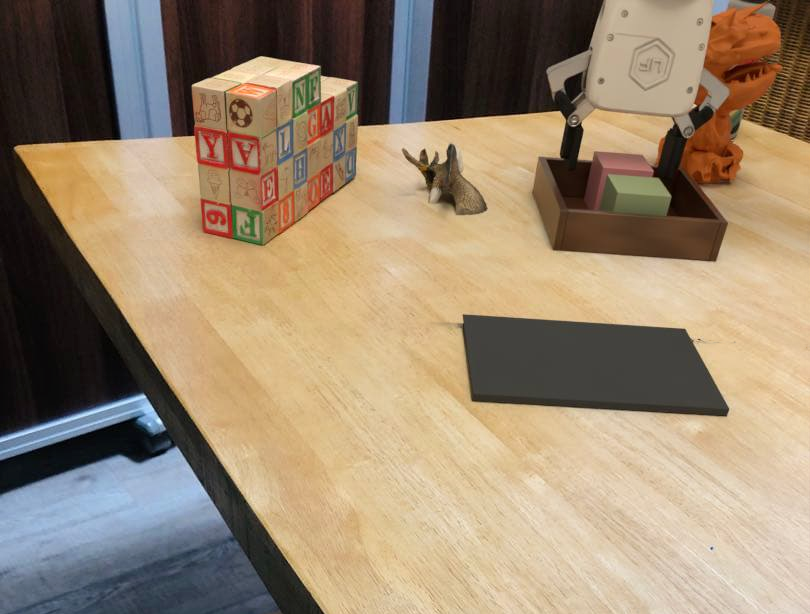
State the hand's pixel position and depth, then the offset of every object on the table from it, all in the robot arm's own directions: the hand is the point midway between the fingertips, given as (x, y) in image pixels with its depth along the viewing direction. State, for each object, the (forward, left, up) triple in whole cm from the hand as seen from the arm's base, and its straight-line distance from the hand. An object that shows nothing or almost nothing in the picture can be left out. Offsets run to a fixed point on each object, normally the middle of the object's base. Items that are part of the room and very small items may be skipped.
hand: (616, 171), depth 86 cm
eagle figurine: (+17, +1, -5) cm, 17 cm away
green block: (0, +7, -4) cm, 8 cm away
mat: (+8, +32, -5) cm, 33 cm away
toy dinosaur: (-13, -14, -5) cm, 20 cm away
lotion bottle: (-21, -34, -5) cm, 41 cm away
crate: (0, +4, -5) cm, 6 cm away
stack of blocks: (+33, +3, -5) cm, 33 cm away
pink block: (0, 0, -4) cm, 4 cm away
